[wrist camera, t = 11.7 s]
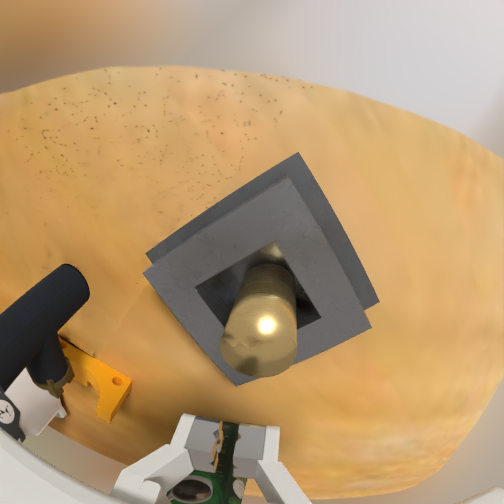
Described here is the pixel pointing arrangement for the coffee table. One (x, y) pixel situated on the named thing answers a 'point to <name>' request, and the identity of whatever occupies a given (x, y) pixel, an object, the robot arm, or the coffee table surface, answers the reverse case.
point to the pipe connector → (41, 330)
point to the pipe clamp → (98, 379)
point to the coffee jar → (213, 478)
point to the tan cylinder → (262, 323)
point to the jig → (265, 252)
